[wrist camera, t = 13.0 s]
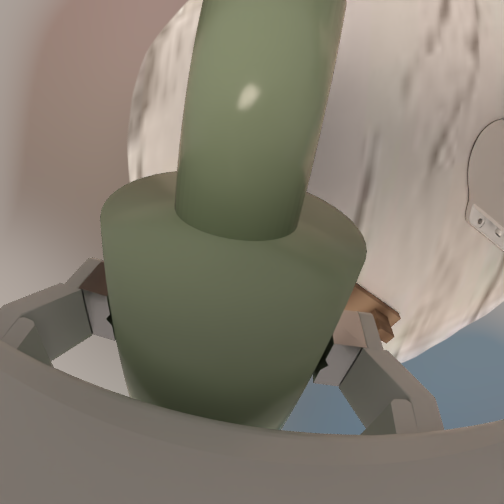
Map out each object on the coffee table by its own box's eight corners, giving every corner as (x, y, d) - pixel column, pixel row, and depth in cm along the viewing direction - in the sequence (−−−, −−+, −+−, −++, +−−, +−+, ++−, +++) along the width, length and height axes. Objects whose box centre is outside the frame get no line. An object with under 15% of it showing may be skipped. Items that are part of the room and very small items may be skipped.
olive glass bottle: (282, 424, 14) (420, 54, 6) (226, 513, 9) (442, -69, 1) (189, 374, 16) (228, 22, 8) (120, 444, 11) (66, -21, 3)
